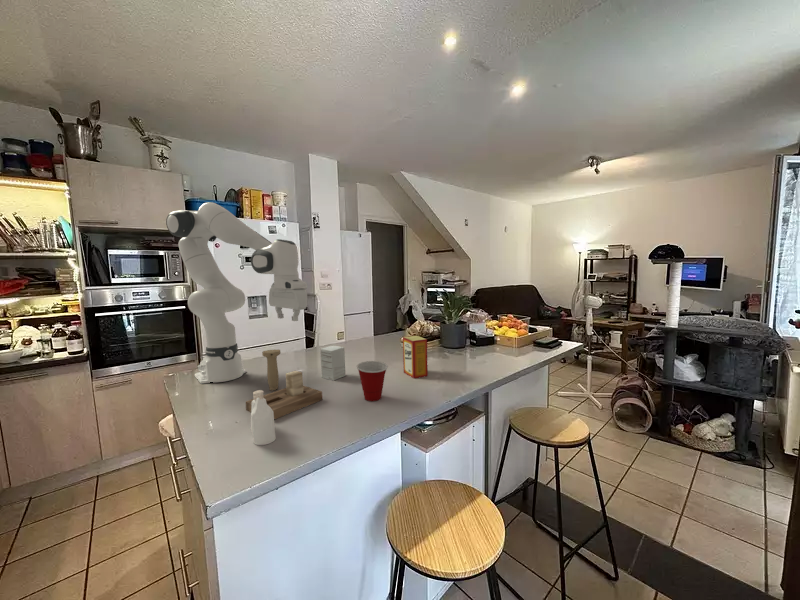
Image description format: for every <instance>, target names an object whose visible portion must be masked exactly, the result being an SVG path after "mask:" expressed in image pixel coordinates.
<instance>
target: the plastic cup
mask: <svg viewBox="0 0 800 600" xmlns="http://www.w3.org/2000/svg"><path fill="white" fill-rule="evenodd" d="M388 367H389V366H388V364H387V363H385V362H382V361H378V360H377V361H376V360H366V361H362V362H359V363H358V364H357V365H356V369H357V370H358V374H359V378H360V383H361V388H362V392H363V393H362V394H363V397H364V400H366V401H367V402H375V401H376V402H377V401H379V400H381V399H382V393H383V388H384V383H385V382H384V381H385V375H386V372H387V370H388Z"/></svg>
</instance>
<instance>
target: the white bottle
mask: <svg viewBox="0 0 800 600" xmlns="http://www.w3.org/2000/svg"><path fill="white" fill-rule="evenodd" d="M252 395H253V396H252V397H253V398H252V399H254V400H253V401H252V406H251V412H250V414H251V413H252V411H253V409H254V407H255V404H256V399H257V398H260V399H261V400H262V401H264V402H265V403H266V399H264V397H263V396H264V395H265V394H264V390H262V389H258V390H255V391H253V392H252ZM250 431H251V432H252V423H251V422H250Z"/></svg>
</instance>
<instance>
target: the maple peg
mask: <svg viewBox="0 0 800 600" xmlns="http://www.w3.org/2000/svg"><path fill="white" fill-rule="evenodd" d="M285 384H286V385H285V388H286V391H287V395H289V396H292V397H294V396H297V395H300V394H302V393H303V386H304V378H303V372H301V371H298V370H294V371H290V372H286V373H285Z"/></svg>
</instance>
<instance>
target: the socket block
mask: <svg viewBox="0 0 800 600" xmlns="http://www.w3.org/2000/svg"><path fill="white" fill-rule="evenodd" d="M263 397H264V399H266V403H267V405H268V406H269V407H270V408H271V409H272V410H273V412H274V419H275V420H277V419H280V418H282V417H285V416H286V414H287V415H288V414H291V412H292V413H293V412H296V411H299V410H300V409H303V407H304V408H306V407H309V406H311V405H313V404H316V403H318V402H320V400H321V401H323V390H318V389H316V388H314V387H313V388H312V387H309V386H306V385H303V393H302V394H300V395H297V396H294V397H292V396H289V395H287V391H286V387H284V388H282V389H277V390H274V391H273V392H270V393H269V392H268V393H266V394H264V396H263ZM253 400H254V398H251V399H249V400H246V401H245V410H246V411H247V412H248V413H251V406H252V401H253ZM308 405H309V406H308Z"/></svg>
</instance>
